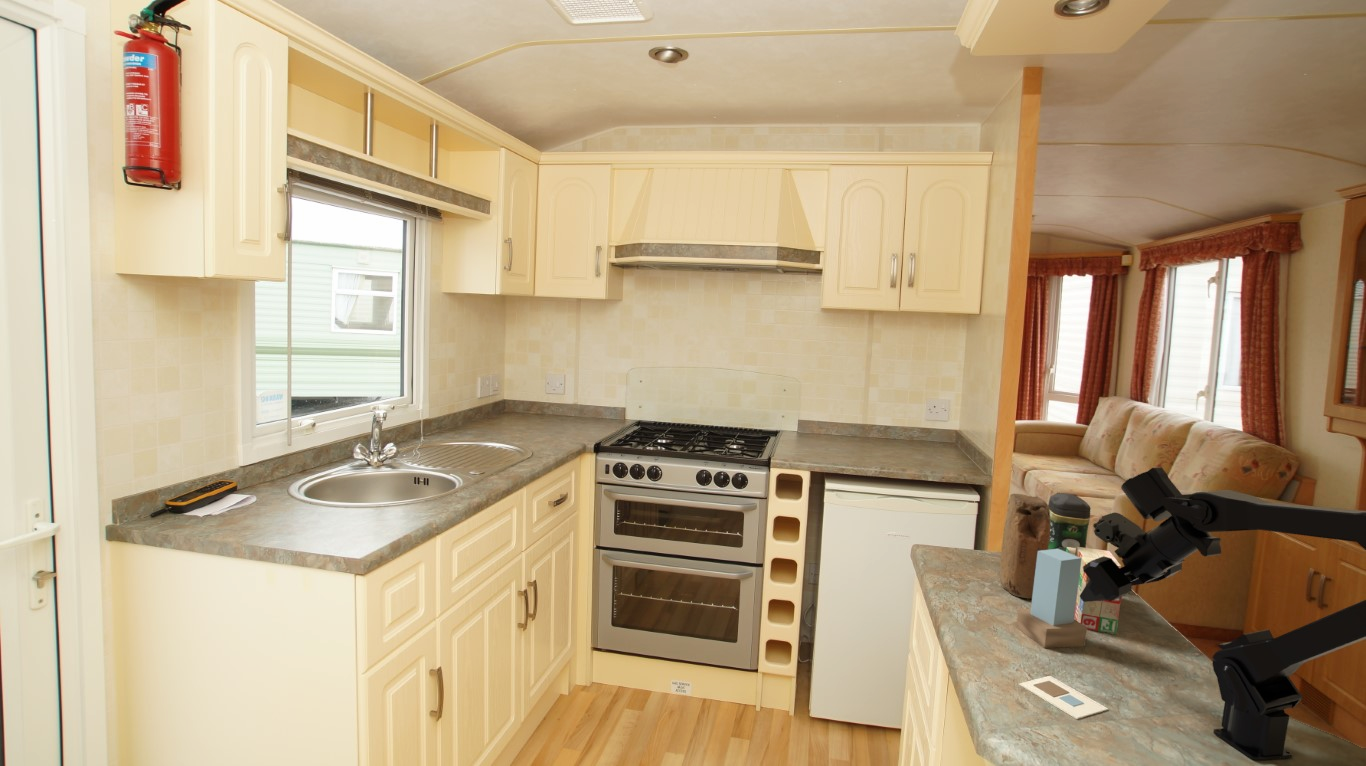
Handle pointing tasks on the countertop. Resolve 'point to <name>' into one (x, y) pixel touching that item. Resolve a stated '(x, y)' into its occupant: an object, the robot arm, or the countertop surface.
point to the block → (1023, 543)
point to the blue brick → (1055, 586)
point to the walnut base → (1051, 631)
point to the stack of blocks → (1095, 612)
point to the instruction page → (1063, 697)
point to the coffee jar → (1068, 521)
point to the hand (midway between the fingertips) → (1098, 592)
